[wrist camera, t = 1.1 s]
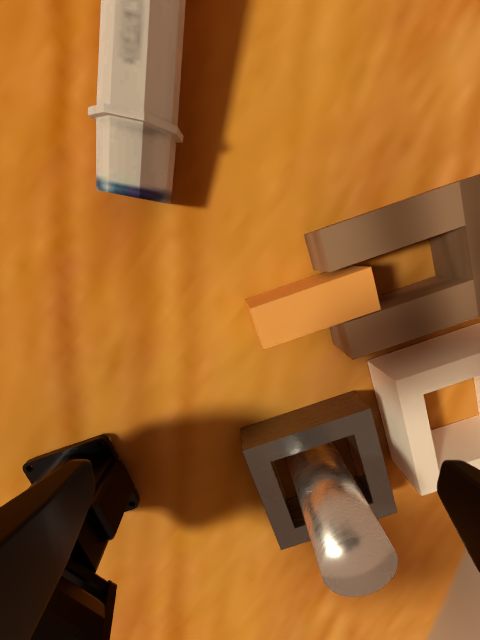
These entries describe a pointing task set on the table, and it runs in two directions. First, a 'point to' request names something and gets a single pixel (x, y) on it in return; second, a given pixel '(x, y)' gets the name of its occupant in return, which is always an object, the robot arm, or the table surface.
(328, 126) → the table surface
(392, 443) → the frame
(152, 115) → the grey handle with block
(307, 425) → the socket block
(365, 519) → the peg
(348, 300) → the block
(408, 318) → the key guide
